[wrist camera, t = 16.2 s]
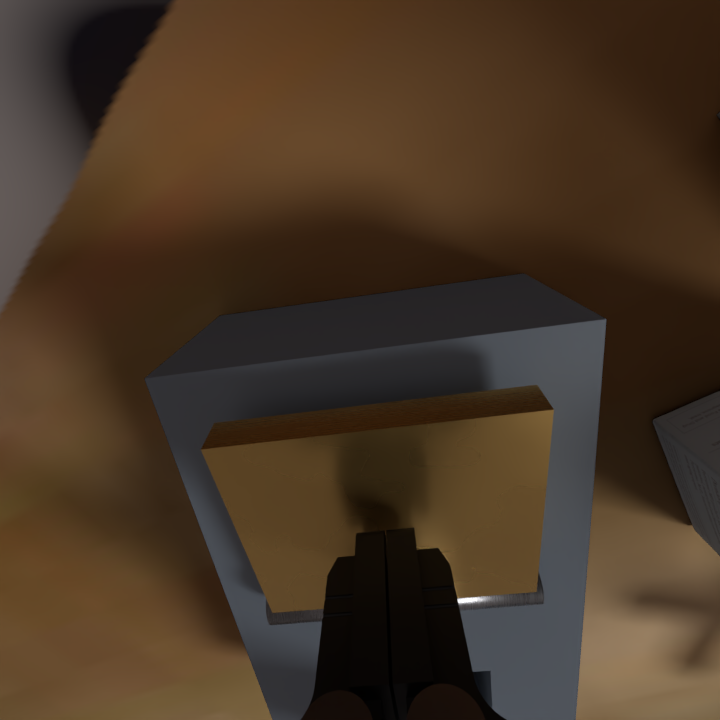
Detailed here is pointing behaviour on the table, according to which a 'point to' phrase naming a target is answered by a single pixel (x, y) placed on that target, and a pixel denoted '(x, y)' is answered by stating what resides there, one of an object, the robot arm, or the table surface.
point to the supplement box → (696, 461)
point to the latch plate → (391, 492)
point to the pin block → (397, 383)
